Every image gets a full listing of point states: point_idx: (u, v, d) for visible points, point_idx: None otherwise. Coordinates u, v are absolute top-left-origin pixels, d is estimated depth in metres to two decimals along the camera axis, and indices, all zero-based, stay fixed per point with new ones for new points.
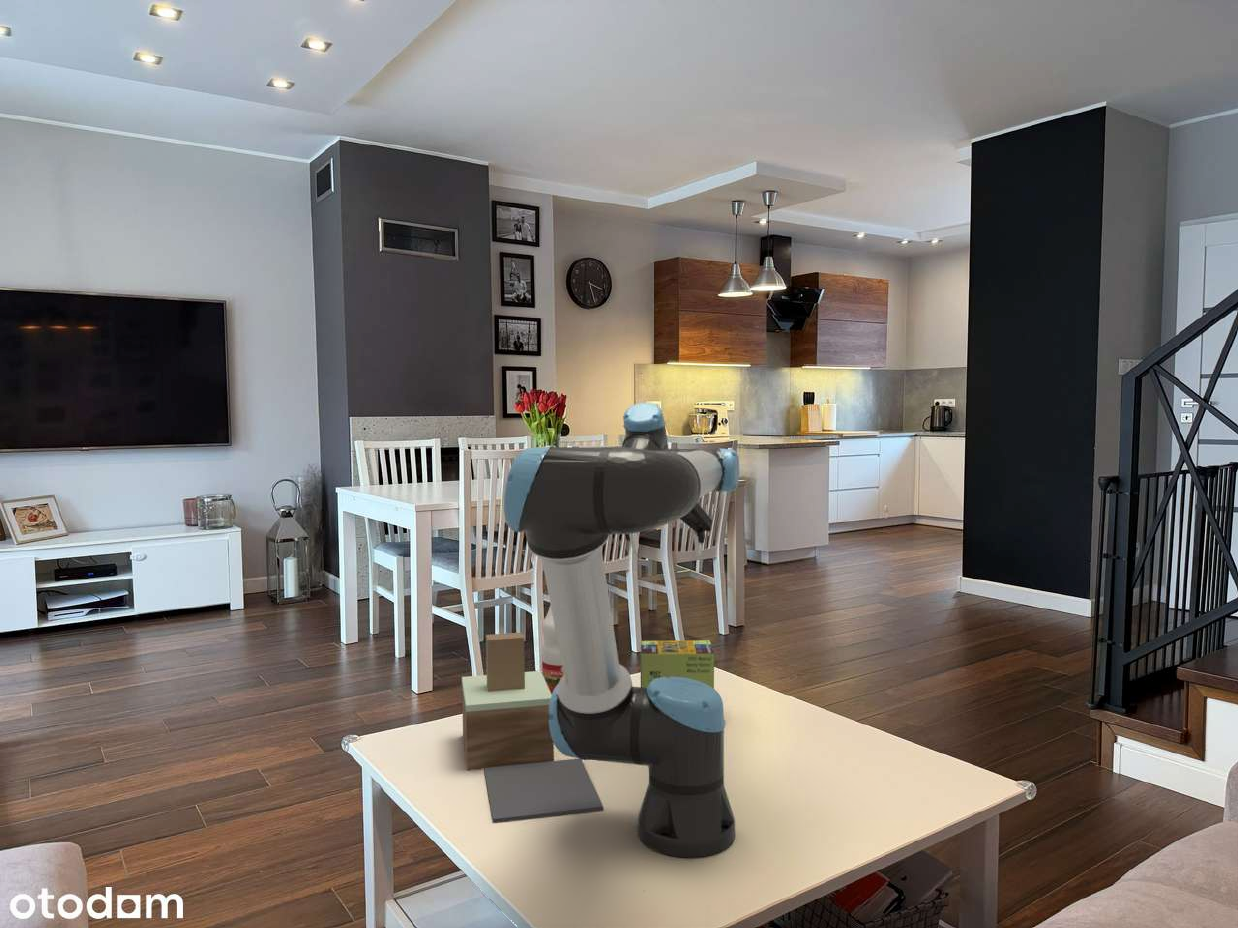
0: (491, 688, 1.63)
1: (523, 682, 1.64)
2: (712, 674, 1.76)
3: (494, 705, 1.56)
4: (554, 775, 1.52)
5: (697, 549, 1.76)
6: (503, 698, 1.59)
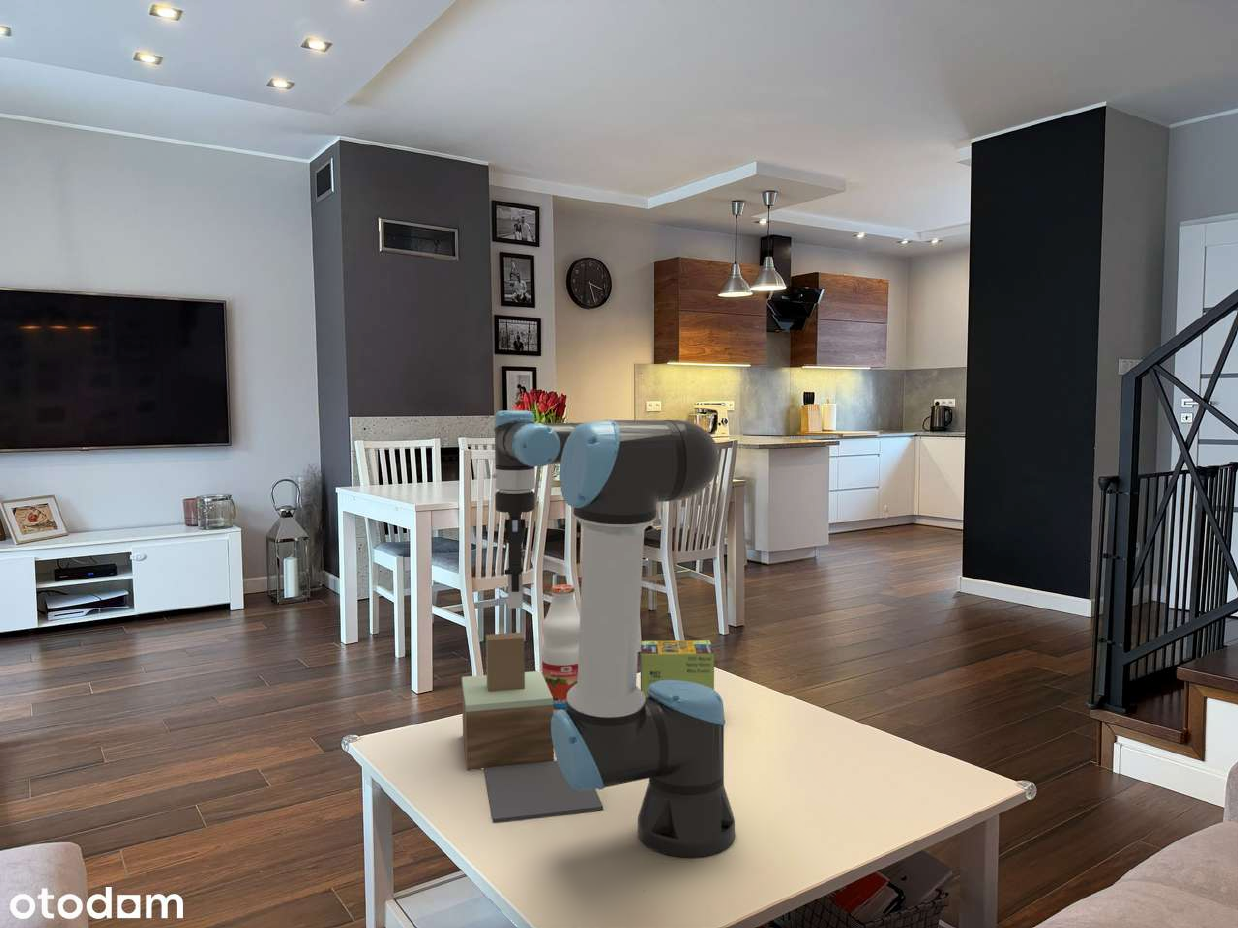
0: (491, 688, 1.63)
1: (523, 682, 1.64)
2: (712, 674, 1.76)
3: (494, 705, 1.56)
4: (554, 775, 1.52)
5: None
6: (503, 698, 1.59)
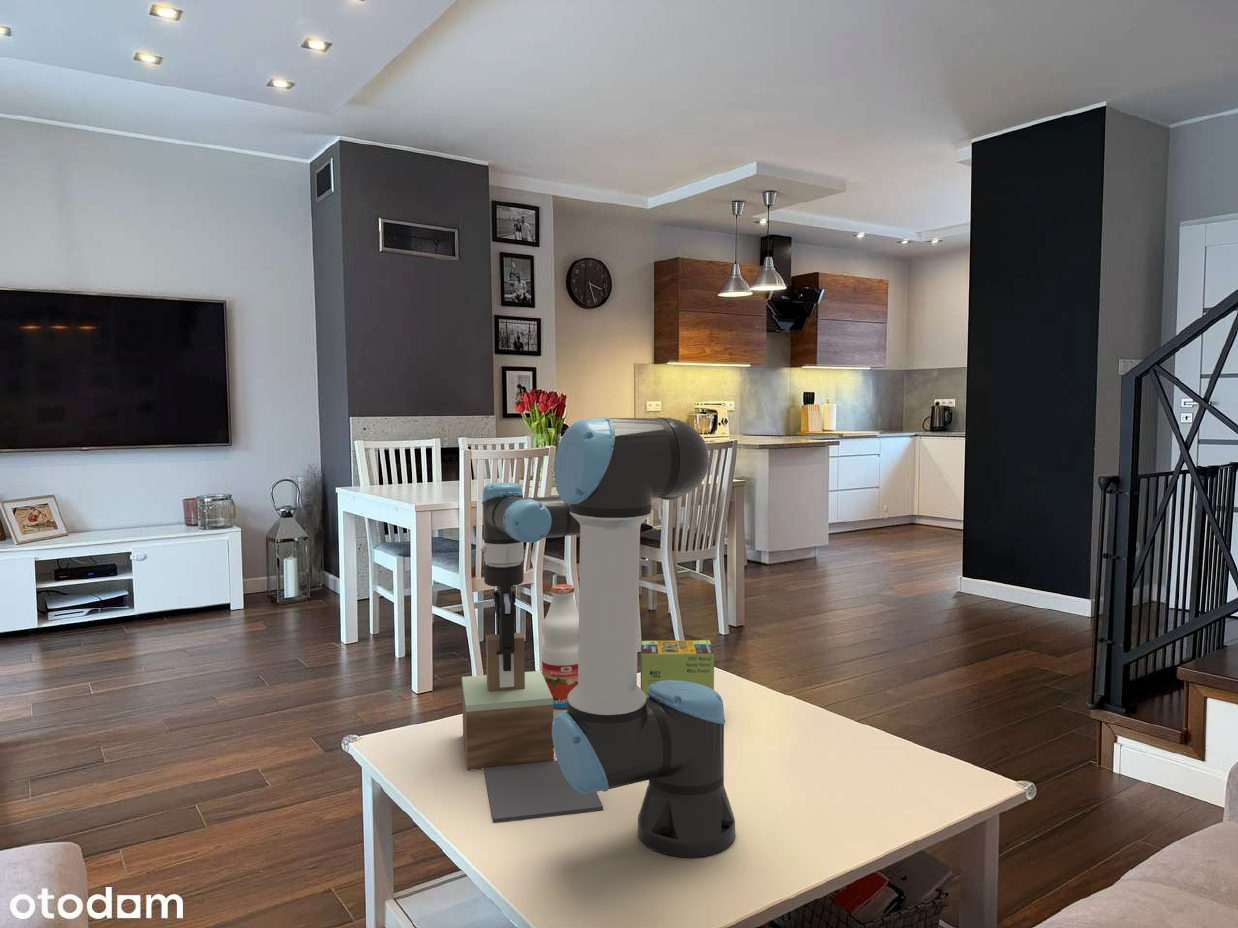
0: (491, 688, 1.63)
1: (523, 682, 1.64)
2: (712, 674, 1.76)
3: (494, 705, 1.56)
4: (554, 775, 1.52)
5: None
6: (503, 698, 1.59)
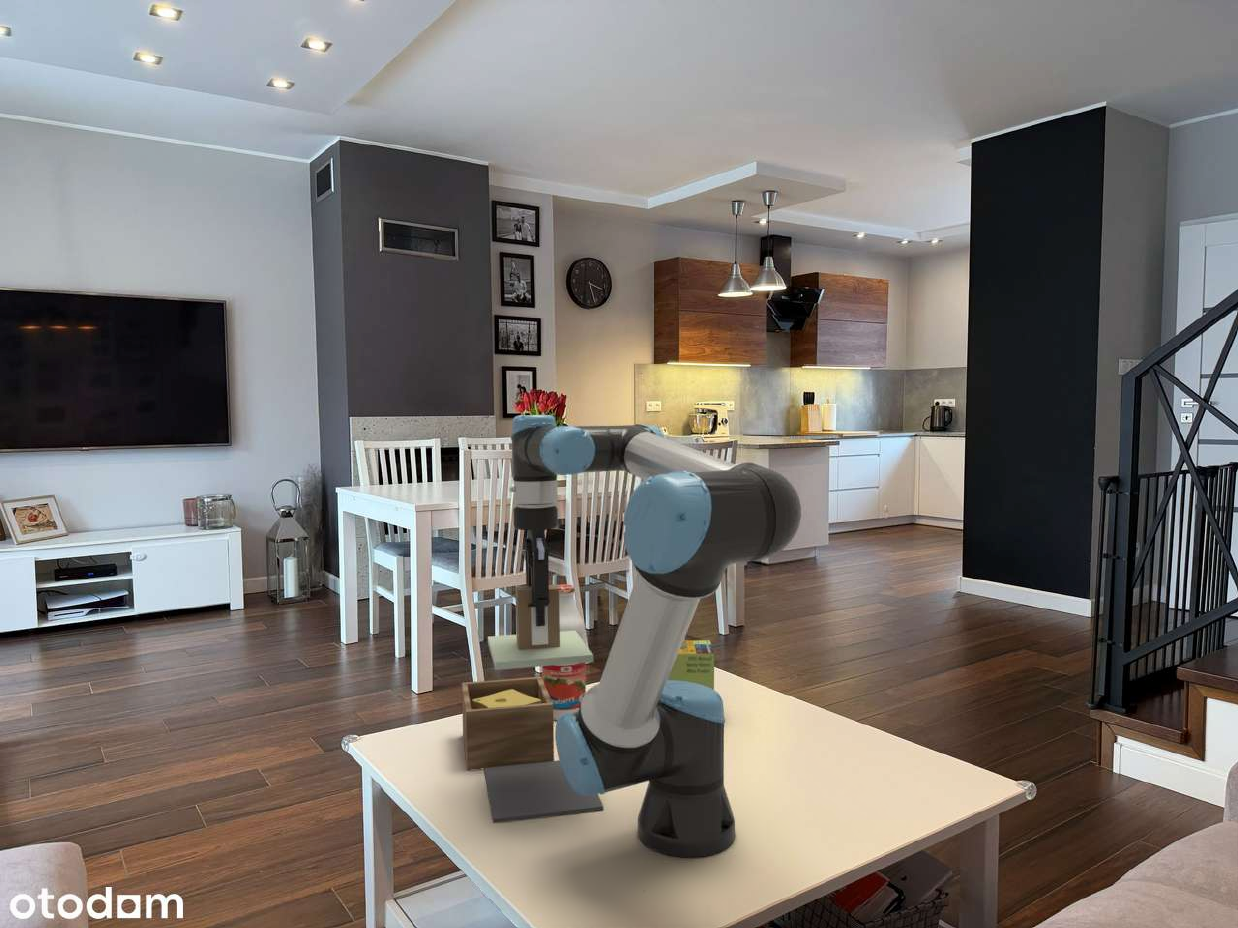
0: (522, 646, 1.44)
1: (558, 639, 1.45)
2: (712, 674, 1.76)
3: (526, 662, 1.38)
4: (554, 775, 1.52)
5: None
6: (536, 655, 1.40)
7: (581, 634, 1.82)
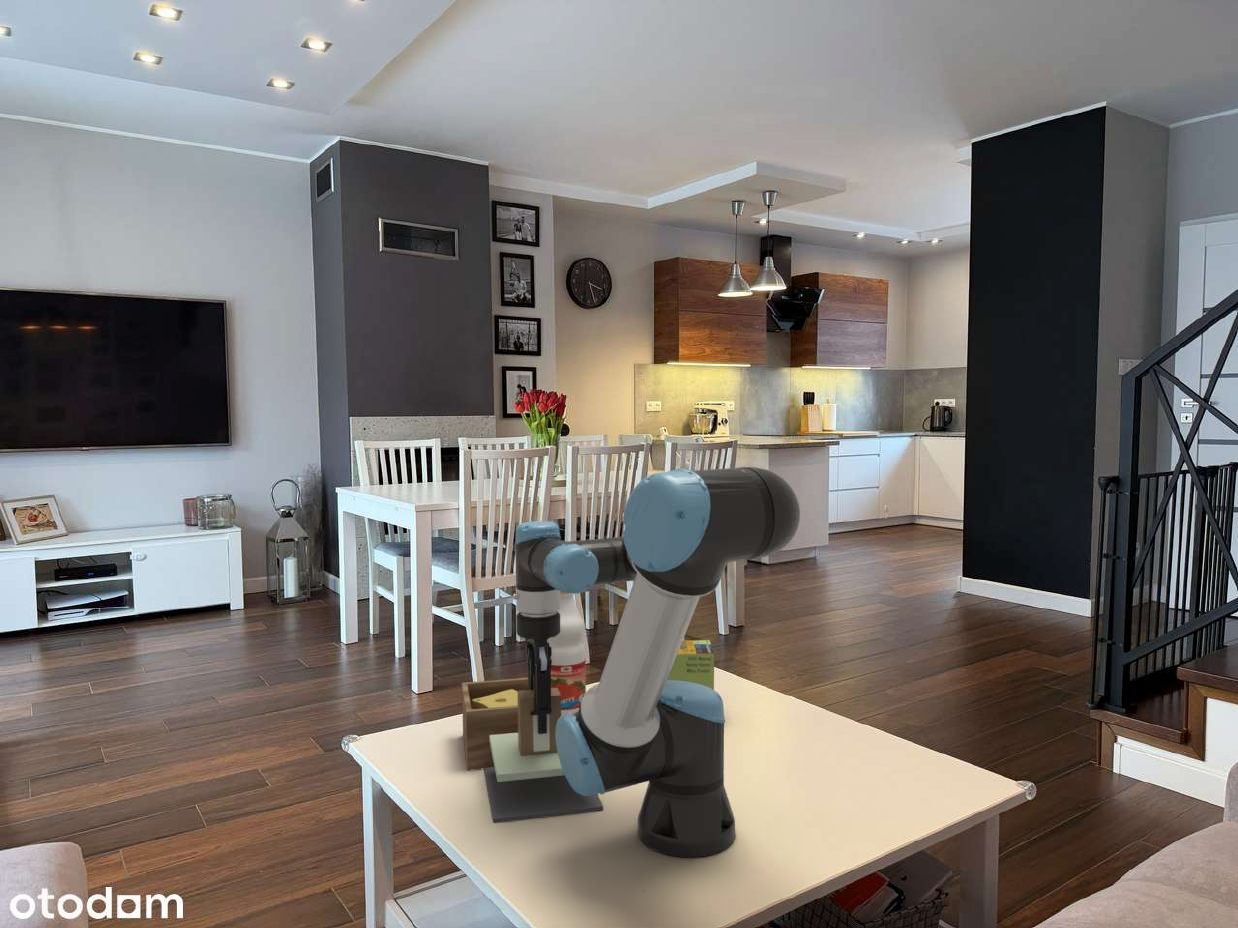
0: (524, 752, 1.45)
1: None
2: (712, 674, 1.76)
3: (528, 774, 1.39)
4: None
5: None
6: (538, 765, 1.41)
7: (581, 634, 1.82)
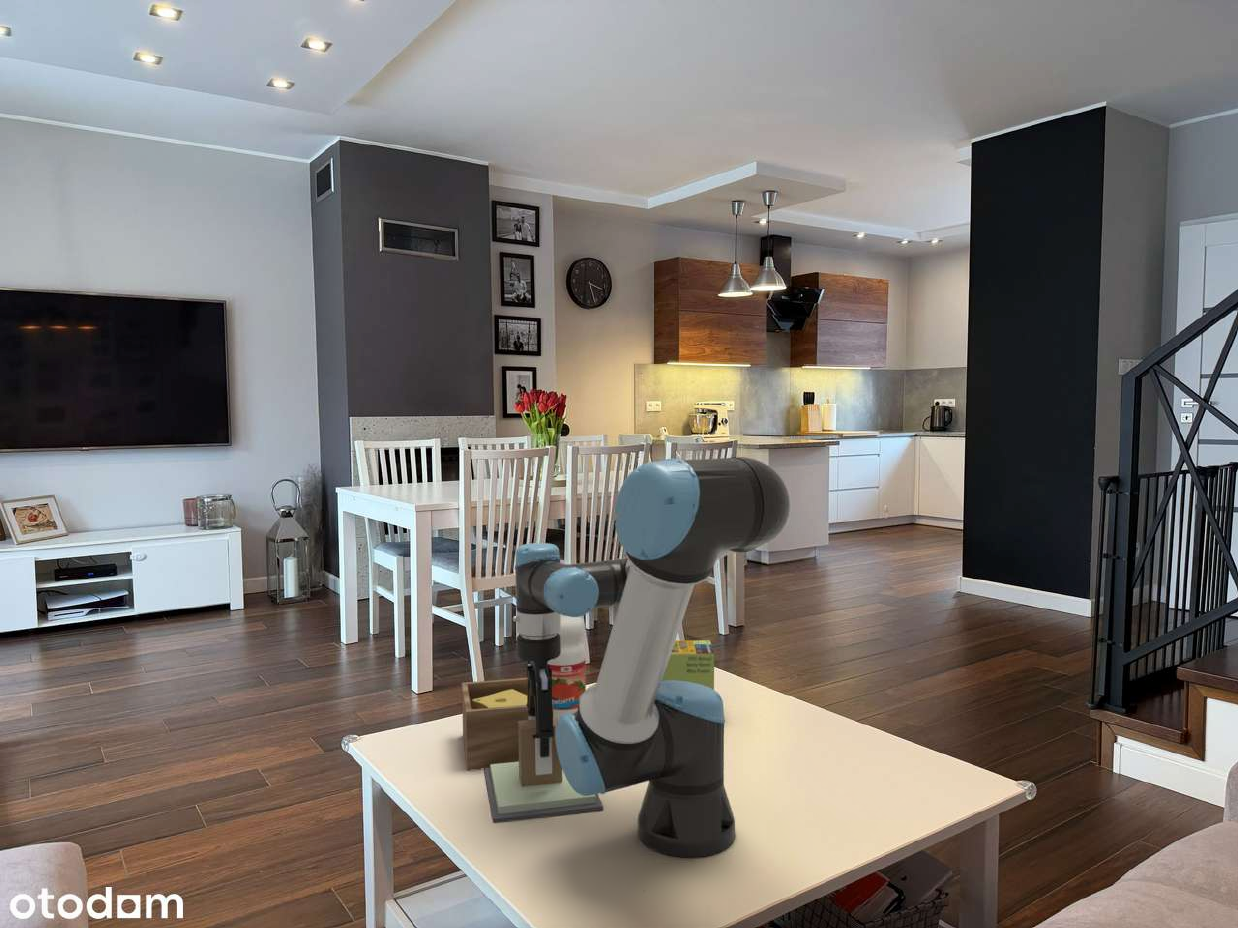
0: (525, 782, 1.45)
1: (560, 775, 1.47)
2: (712, 674, 1.76)
3: (529, 806, 1.39)
4: None
5: None
6: (539, 796, 1.41)
7: (581, 634, 1.82)
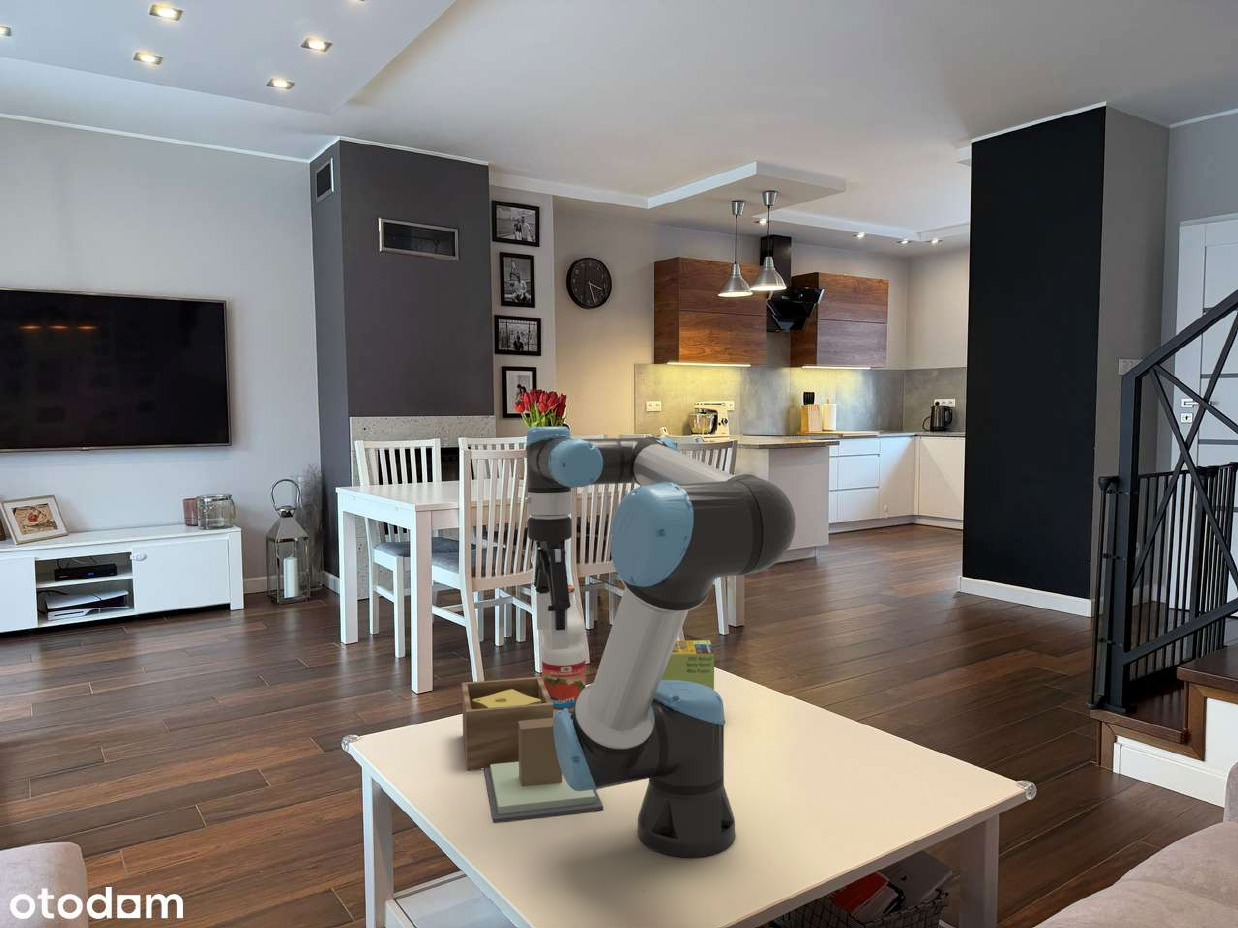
0: (525, 782, 1.45)
1: (560, 775, 1.47)
2: (712, 674, 1.76)
3: (529, 806, 1.39)
4: None
5: None
6: (539, 796, 1.41)
7: (581, 634, 1.82)
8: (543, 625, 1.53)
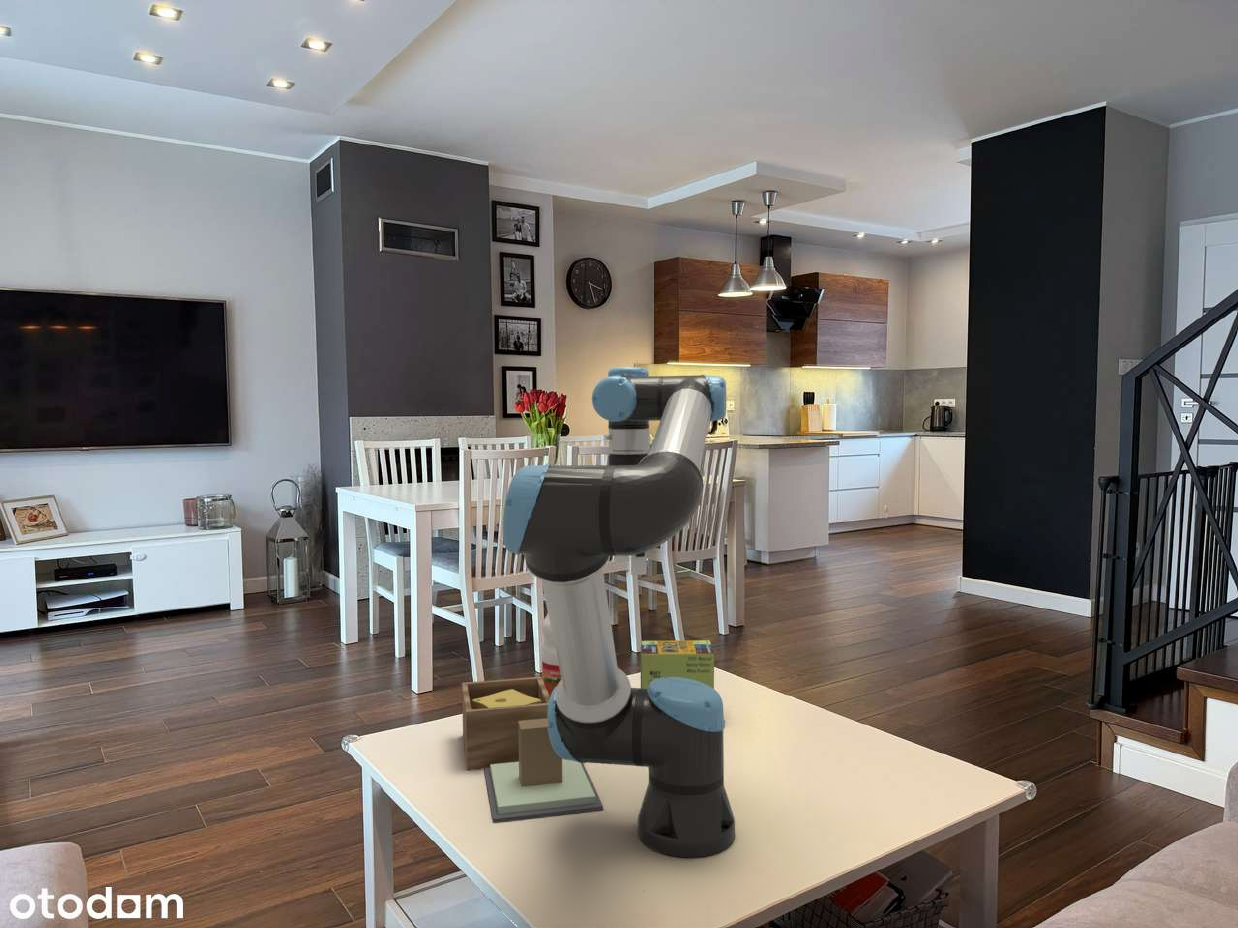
0: (525, 782, 1.45)
1: (560, 775, 1.47)
2: (712, 674, 1.76)
3: (529, 806, 1.39)
4: None
5: None
6: (539, 796, 1.41)
7: None
8: (620, 557, 1.63)
